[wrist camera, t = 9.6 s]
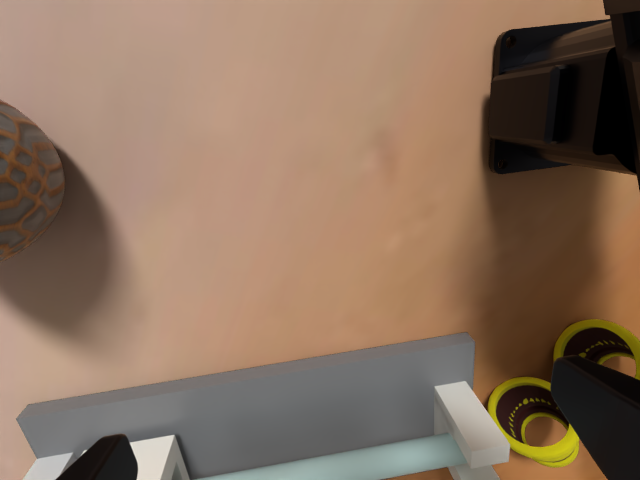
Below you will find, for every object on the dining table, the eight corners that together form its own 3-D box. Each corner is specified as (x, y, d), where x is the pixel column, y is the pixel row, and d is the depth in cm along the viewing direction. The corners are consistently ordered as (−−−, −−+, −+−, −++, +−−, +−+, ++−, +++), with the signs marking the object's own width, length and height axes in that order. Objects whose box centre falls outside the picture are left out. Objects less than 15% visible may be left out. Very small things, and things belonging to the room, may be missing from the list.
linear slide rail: (466, 332, 22) (531, 407, 16) (462, 450, 25) (514, 545, 20) (28, 404, 20) (-68, 516, 15) (86, 520, 24) (27, 647, 18)
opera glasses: (504, 422, 26) (559, 493, 22) (469, 399, 24) (524, 475, 20) (611, 335, 25) (693, 394, 20) (586, 301, 22) (674, 359, 18)
